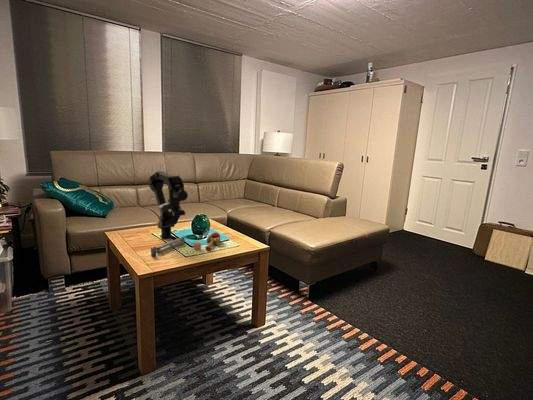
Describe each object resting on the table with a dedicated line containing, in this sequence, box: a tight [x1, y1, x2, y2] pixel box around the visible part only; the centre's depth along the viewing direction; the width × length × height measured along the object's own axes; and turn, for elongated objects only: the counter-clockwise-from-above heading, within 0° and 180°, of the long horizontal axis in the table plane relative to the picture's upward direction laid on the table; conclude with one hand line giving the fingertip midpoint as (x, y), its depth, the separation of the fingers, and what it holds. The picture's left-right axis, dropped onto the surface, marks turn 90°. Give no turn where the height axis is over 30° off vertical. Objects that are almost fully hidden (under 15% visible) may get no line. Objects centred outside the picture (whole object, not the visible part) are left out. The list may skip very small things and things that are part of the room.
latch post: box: [193, 241, 202, 252], centre depth 159 cm, size 3×3×4 cm
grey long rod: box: [155, 236, 186, 255], centre depth 159 cm, size 2×20×3 cm, turn 154°
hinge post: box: [150, 246, 157, 258], centre depth 148 cm, size 2×2×4 cm
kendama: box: [205, 232, 221, 252], centre depth 166 cm, size 8×6×18 cm
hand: (175, 224), depth 168 cm, fingers closed
